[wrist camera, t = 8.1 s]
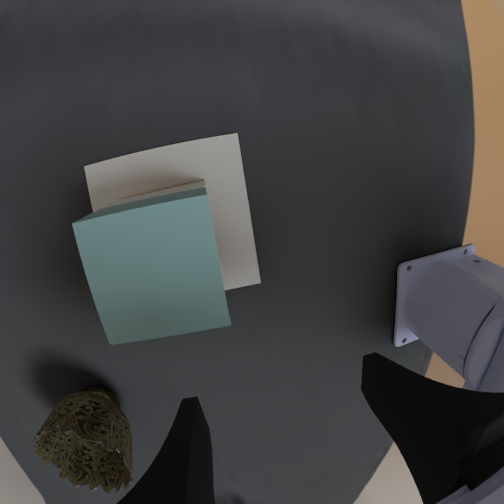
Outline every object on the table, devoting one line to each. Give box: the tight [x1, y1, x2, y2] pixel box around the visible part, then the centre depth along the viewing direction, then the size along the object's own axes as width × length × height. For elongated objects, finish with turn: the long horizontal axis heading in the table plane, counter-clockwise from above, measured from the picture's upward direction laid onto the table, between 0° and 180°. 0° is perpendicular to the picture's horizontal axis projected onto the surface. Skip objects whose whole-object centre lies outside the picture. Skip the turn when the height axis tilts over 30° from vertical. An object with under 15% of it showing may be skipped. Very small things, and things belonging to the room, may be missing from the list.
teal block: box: [72, 187, 231, 345], centre depth 13 cm, size 5×5×4 cm
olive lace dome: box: [33, 385, 133, 493], centre depth 19 cm, size 8×7×8 cm
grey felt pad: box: [84, 133, 261, 290], centre depth 20 cm, size 10×10×1 cm
